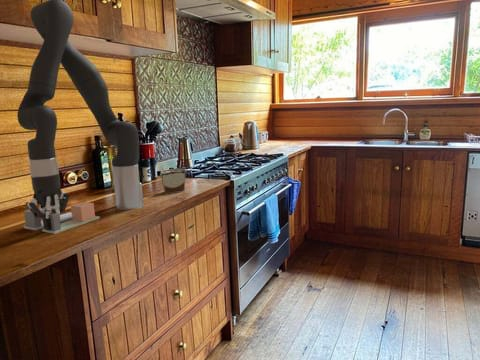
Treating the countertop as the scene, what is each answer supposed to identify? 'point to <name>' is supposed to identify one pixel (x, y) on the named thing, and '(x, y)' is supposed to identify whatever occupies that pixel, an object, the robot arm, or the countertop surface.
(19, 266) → the countertop surface
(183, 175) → the food container
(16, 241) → the countertop surface
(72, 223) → the block strip
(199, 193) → the countertop surface
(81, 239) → the countertop surface
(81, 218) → the block
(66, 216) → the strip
